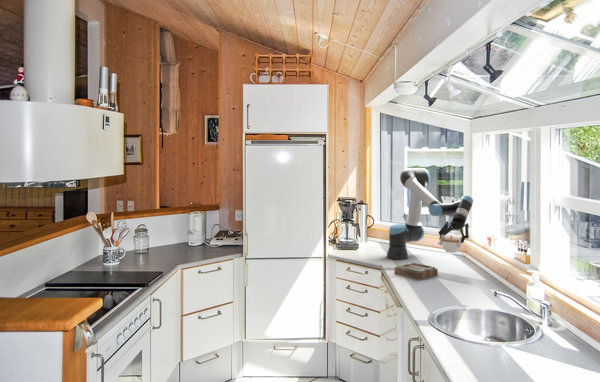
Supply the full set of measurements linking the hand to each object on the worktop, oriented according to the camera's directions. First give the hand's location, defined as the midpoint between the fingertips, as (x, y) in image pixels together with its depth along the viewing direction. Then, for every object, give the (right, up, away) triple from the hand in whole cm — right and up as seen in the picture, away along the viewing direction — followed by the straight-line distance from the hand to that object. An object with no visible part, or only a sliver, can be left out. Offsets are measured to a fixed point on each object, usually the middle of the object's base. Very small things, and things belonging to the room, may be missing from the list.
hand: (449, 245), depth 255 cm
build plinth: (-18, -18, +6) cm, 27 cm away
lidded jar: (+2, -4, +2) cm, 5 cm away
